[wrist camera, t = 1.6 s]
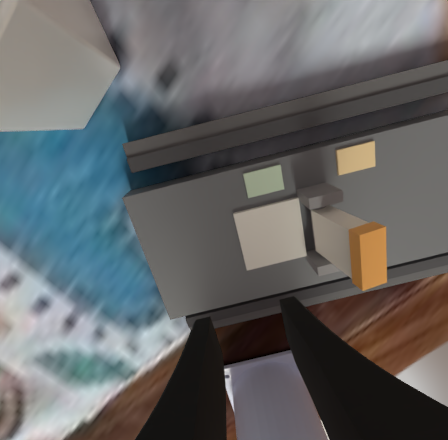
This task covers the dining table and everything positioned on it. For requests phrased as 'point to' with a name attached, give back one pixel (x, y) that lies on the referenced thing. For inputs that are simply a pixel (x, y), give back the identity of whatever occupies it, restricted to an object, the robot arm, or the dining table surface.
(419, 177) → the toggle switch panel
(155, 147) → the long dark grey rail
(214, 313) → the thin grey bar
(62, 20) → the jar
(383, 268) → the breaker lever
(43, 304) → the dining table surface
